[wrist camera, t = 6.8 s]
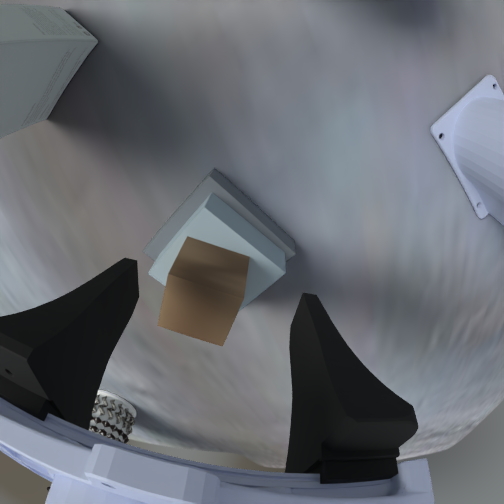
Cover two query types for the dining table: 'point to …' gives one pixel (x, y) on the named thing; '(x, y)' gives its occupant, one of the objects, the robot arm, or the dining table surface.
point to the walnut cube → (204, 291)
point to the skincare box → (36, 61)
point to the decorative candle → (112, 417)
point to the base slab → (233, 199)
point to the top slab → (227, 245)
